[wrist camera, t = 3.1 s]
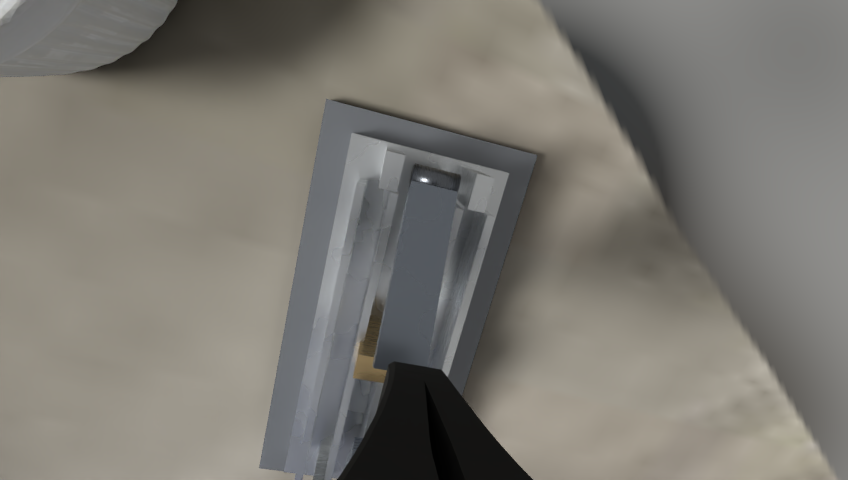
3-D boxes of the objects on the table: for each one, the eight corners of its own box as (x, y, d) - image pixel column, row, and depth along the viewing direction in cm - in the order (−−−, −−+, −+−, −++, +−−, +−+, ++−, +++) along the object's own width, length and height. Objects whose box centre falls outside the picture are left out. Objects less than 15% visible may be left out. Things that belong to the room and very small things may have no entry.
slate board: (431, 479, 22) (432, 489, 21) (262, 458, 20) (259, 468, 20) (532, 154, 17) (537, 154, 17) (328, 100, 16) (326, 98, 15)
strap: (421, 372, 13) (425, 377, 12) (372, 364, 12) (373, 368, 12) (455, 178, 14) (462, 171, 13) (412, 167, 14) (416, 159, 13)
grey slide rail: (413, 471, 21) (419, 549, 17) (289, 455, 20) (264, 533, 16) (502, 170, 17) (536, 182, 13) (353, 132, 16) (343, 132, 12)
